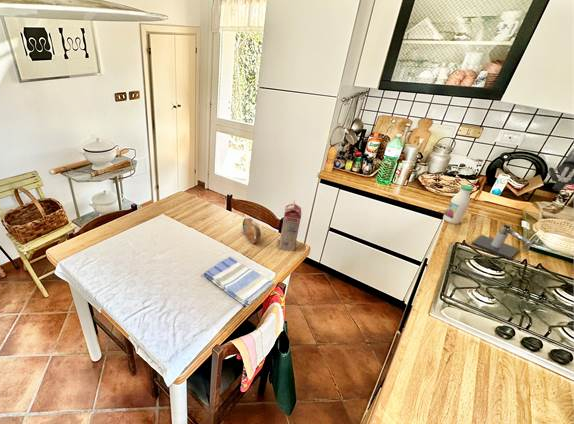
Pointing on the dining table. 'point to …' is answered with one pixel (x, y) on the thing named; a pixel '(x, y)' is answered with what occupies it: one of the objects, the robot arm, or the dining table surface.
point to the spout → (507, 229)
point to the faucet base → (498, 251)
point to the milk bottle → (458, 205)
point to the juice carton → (290, 227)
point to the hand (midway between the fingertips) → (556, 189)
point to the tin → (251, 230)
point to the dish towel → (239, 281)
